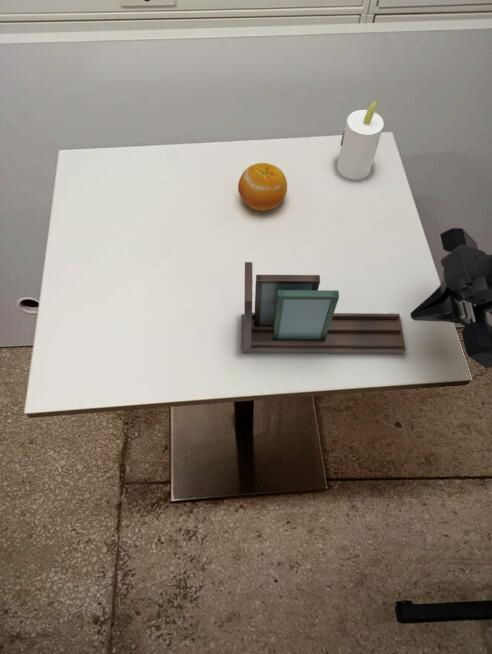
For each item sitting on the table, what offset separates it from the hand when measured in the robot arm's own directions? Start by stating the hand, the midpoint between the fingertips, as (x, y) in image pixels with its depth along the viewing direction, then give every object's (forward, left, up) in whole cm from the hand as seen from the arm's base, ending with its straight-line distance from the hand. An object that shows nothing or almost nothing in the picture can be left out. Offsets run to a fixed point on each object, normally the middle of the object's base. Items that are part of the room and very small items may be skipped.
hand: (412, 316), depth 71 cm
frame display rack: (+12, -1, -8) cm, 14 cm away
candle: (+3, -37, -9) cm, 39 cm away
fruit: (+21, -29, -9) cm, 37 cm away
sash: (+15, 0, -7) cm, 17 cm away
